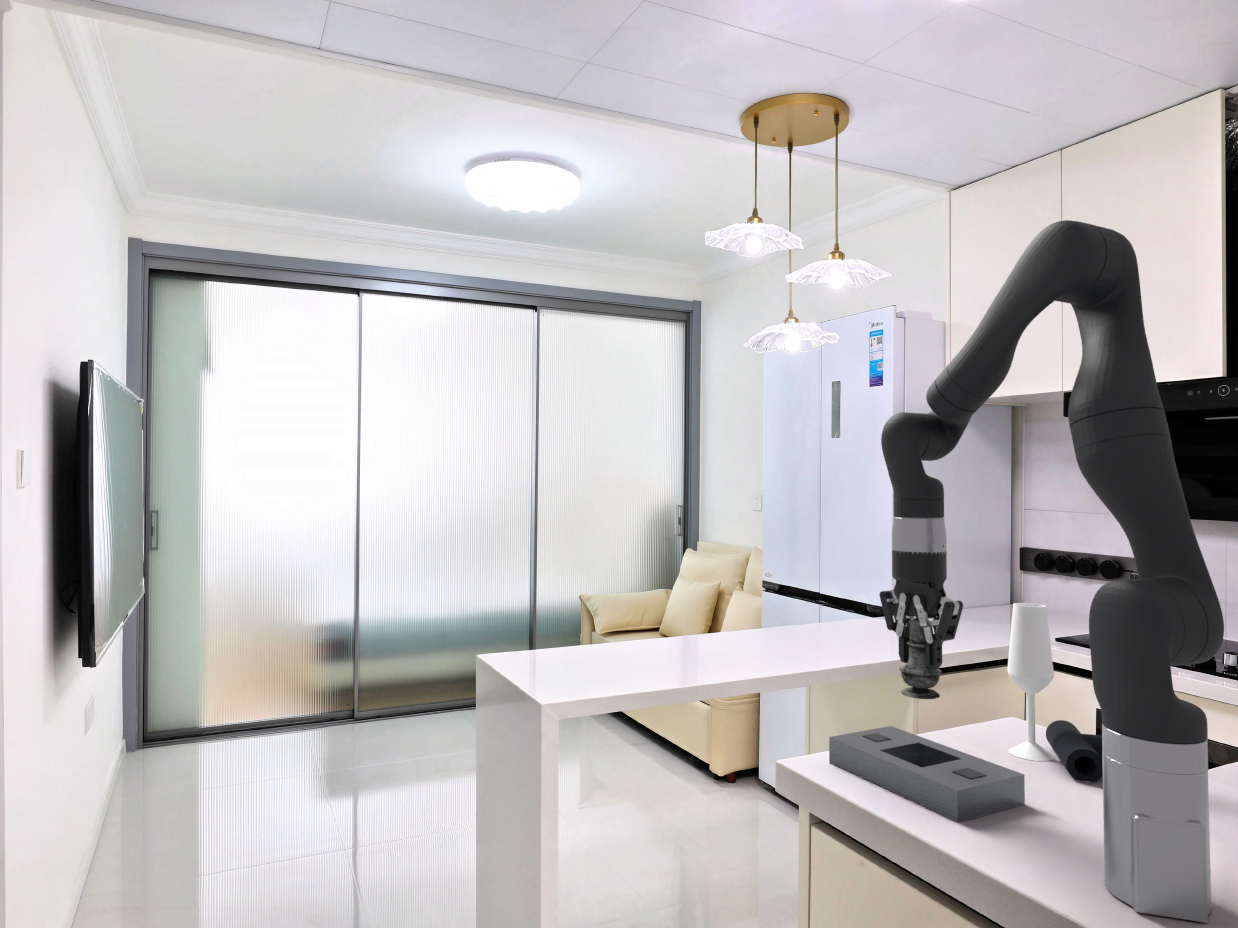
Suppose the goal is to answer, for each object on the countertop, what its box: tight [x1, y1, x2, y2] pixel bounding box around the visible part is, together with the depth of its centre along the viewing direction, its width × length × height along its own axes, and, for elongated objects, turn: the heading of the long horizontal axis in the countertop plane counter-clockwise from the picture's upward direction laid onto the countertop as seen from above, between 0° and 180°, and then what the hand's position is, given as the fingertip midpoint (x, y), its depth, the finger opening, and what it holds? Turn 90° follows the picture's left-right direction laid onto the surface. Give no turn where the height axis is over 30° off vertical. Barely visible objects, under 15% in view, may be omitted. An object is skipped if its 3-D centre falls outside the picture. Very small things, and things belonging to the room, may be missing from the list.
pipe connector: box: [1045, 719, 1103, 783], centre depth 120 cm, size 12×5×15 cm
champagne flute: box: [1006, 602, 1056, 762], centre depth 126 cm, size 7×7×24 cm
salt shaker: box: [898, 618, 943, 700], centre depth 114 cm, size 6×6×12 cm
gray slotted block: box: [828, 725, 1026, 823], centre depth 113 cm, size 24×13×4 cm, turn 26°
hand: (919, 664), depth 114 cm, fingers closed on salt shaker, 4 cm apart
